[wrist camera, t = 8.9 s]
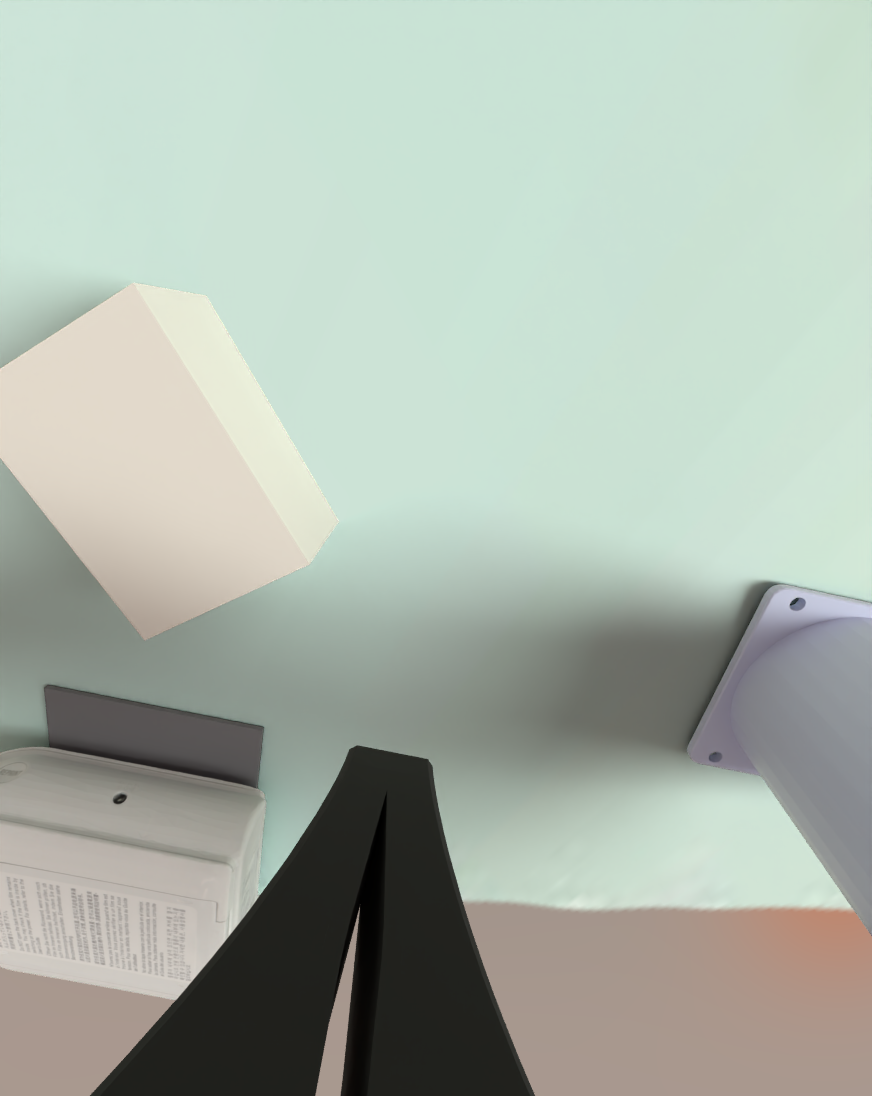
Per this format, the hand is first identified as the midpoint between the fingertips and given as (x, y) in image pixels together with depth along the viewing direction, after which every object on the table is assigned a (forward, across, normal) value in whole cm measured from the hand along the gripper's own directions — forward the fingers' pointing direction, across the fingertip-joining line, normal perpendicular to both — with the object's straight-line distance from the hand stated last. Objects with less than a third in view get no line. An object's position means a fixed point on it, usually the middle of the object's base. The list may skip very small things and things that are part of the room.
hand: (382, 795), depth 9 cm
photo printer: (+8, +4, +16) cm, 18 cm away
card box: (+11, +8, -2) cm, 14 cm away
